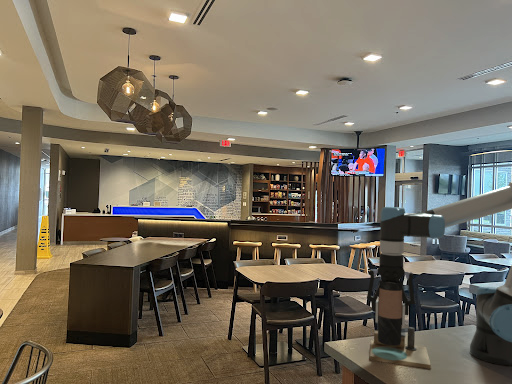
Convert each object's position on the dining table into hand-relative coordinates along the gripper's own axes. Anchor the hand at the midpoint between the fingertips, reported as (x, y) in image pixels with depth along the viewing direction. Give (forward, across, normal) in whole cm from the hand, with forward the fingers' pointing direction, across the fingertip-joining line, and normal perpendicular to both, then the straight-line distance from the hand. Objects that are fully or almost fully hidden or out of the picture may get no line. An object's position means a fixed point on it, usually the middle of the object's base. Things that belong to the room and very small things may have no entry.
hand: (389, 323), depth 130 cm
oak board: (+11, -3, -3) cm, 12 cm away
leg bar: (+9, 0, -7) cm, 12 cm away
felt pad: (+10, 0, 0) cm, 10 cm away
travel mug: (+6, 0, 0) cm, 6 cm away
